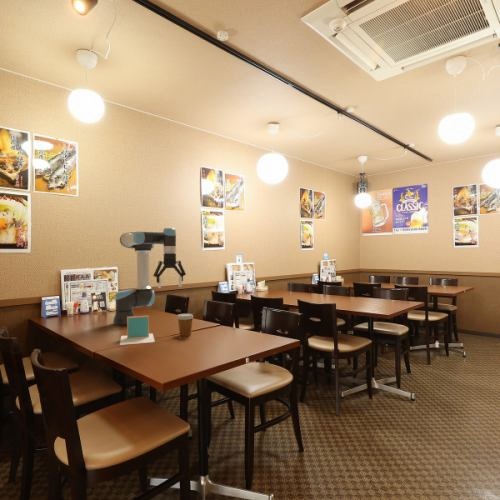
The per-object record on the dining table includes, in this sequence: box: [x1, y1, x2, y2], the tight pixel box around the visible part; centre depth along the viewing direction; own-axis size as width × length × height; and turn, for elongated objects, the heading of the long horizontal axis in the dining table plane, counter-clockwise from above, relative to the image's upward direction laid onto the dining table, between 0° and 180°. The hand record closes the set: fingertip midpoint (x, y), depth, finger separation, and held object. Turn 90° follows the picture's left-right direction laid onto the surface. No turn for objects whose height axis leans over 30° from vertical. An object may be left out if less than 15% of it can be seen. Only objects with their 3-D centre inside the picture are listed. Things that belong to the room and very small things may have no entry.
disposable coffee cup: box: [177, 313, 194, 337], centre depth 210 cm, size 10×10×12 cm
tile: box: [126, 315, 150, 338], centre depth 203 cm, size 2×12×12 cm, turn 108°
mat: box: [119, 332, 155, 346], centre depth 199 cm, size 22×18×1 cm
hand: (170, 287), depth 216 cm, fingers open, 13 cm apart
